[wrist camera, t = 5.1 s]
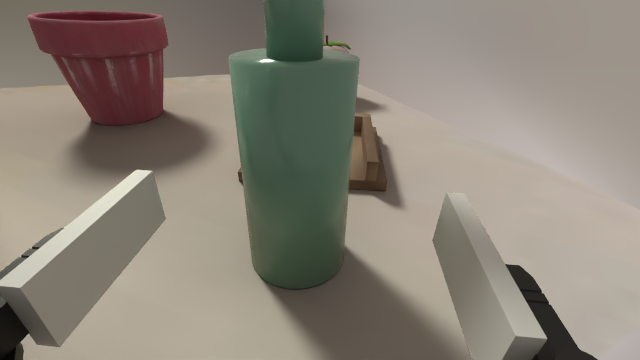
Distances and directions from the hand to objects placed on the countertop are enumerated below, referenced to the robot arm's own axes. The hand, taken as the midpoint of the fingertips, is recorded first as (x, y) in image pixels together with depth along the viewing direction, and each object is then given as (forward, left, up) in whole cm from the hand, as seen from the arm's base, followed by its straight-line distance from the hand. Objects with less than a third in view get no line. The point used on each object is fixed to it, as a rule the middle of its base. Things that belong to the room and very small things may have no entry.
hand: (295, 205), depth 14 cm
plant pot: (-29, +30, -8) cm, 42 cm away
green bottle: (-1, +5, -7) cm, 9 cm away
